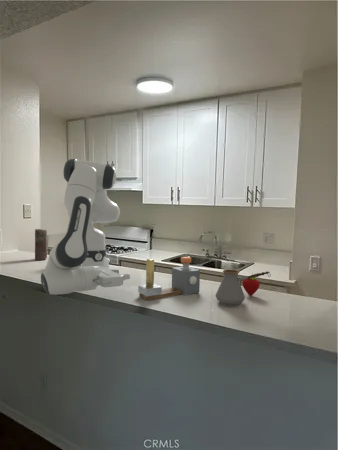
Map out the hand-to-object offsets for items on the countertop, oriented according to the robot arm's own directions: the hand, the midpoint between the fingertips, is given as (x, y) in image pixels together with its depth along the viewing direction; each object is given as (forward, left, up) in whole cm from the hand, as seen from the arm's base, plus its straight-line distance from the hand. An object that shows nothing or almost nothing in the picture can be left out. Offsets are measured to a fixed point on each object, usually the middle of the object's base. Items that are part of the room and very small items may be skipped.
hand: (123, 273), depth 121 cm
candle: (-106, -8, -11) cm, 107 cm away
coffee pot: (+27, +38, -11) cm, 48 cm away
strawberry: (+20, +51, -11) cm, 56 cm away
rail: (0, +18, -11) cm, 21 cm away
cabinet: (0, +31, -11) cm, 33 cm away
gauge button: (0, +31, -7) cm, 32 cm away
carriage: (0, +12, -9) cm, 15 cm away
